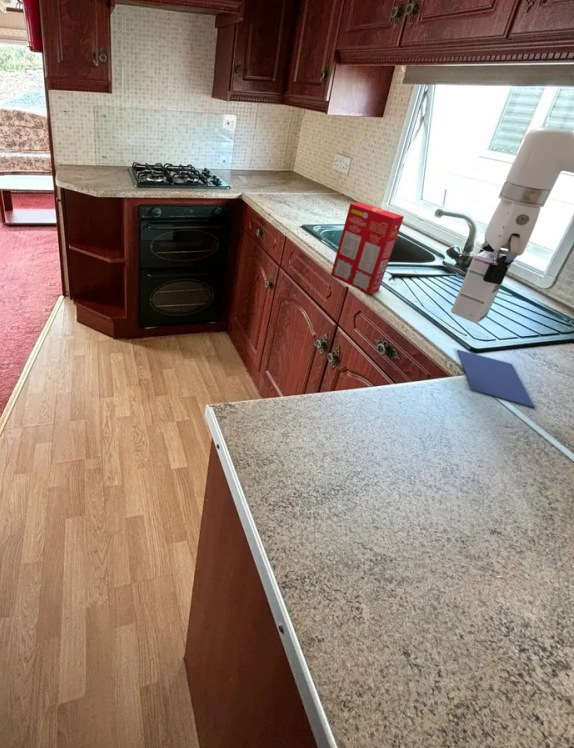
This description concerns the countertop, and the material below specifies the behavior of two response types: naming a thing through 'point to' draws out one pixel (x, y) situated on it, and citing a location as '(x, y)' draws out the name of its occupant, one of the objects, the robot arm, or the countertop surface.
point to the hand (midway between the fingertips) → (486, 274)
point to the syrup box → (476, 290)
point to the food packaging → (366, 246)
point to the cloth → (494, 378)
